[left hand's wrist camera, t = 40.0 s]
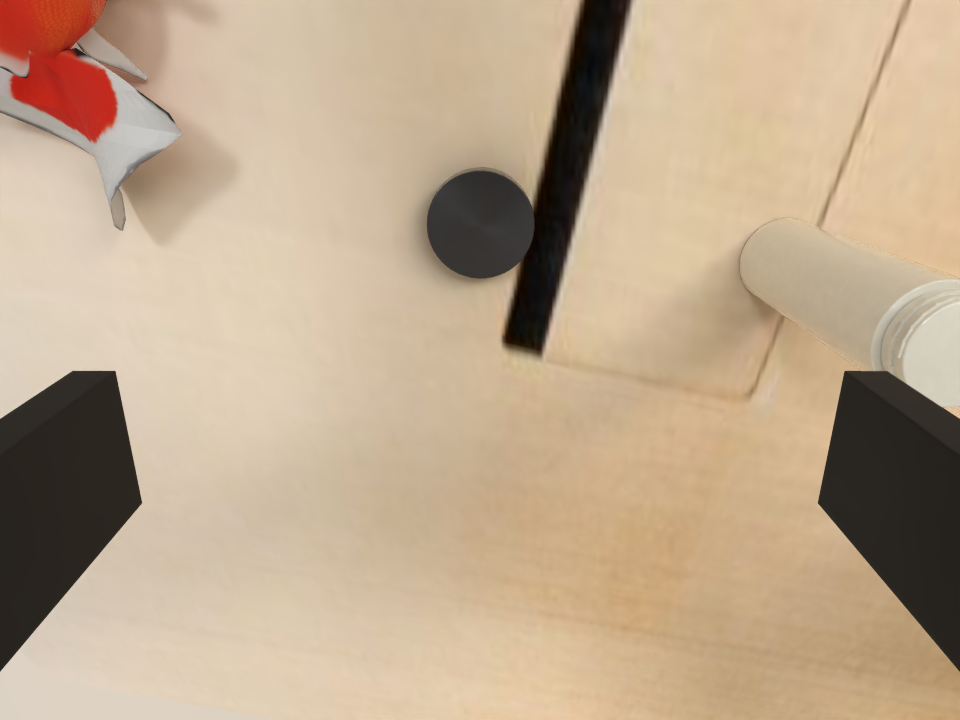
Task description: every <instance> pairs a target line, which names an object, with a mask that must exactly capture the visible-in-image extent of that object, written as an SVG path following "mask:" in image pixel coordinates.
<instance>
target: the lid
mask: <svg viewBox="0 0 960 720" xmlns="http://www.w3.org/2000/svg"><path fill="white" fill-rule="evenodd" d="M427 231H428V237H429V240H430V244H431V246H432V248H433V250H434V252H435V253H436V255H437V256H438V258H439V259H440V260H441V261H442V262H443V263H444V264H445V265H446V266H447V267H448V268H450V269H451V270H453V271H455V272H456V273H458V274H461V275H464V276H467V277H471V278H490V277H495V276H498V275H501V274H503V273H505V272H507V271H509V270H510V269H512V268H513V267H514V266H516V265H517V264H518V263H519V262H520V261H521V260H522V258H523V257H524V256H525V254H526V253H527V251H528V249H529V247H530V245H531V242H532V239H533V235H534V214H533V210H532V207H531V204H530V202H529V199H528V197H527V196H526V194H525V192H524V190H523V189H522V188H521V186H520V185H519V184H518V183H517V182H516V181H515V180H514V179H512V178H511V177H510V176H508V175H506V174H505V173H503V172H500V171H498V170H495V169H491V168H471V169H467V170H464V171H461V172H459V173H457V174H455V175H453V176H452V177H450V178H449V179H448V180H447V181H446V182H445V183H444V184H443V185H442V186H441V187H440V188H439V190H438V191H437V193H436V195H435V197H434V199H433V201H432V203H431V205H430V208H429V212H428V217H427Z"/></svg>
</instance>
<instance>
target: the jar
mask: <svg viewBox="0 0 960 720" xmlns="http://www.w3.org/2000/svg"><path fill="white" fill-rule="evenodd" d="M739 269H740V275H741V279H742V281H743V283H744V285H745V286H746V288H747V289H748V290H749V291H750V292H751V293H752V294H753V295H755V296H756V297H758V298H759V299H760V300H762V301H763V302H765V303H766V304H767V305H769V306H770V307H772V308H773V309H775V310H776V311H777V312H779V313H780V314H782V315H783V316H784V317H786V318H787V319H789V320H790V321H792V322H793V323H794V324H796V325H797V326H799V327H800V328H801V329H803V330H804V331H806V332H807V333H809V334H810V335H811V336H813V337H814V338H816V339H817V340H818V341H820V342H821V343H823V344H824V345H826V346H827V347H828V348H830V349H831V350H833V351H834V352H835V353H837V354H838V355H840V356H841V357H843V358H844V359H845V360H847V361H848V362H850V363H851V364H852V365H854V366H855V367H857V368H858V369H860V370H861V371H888V372H889V373H891V374H892V375H894V376H896V377H897V378H899V379H900V380H902V381H903V382H905V383H906V384H908V385H909V386H911V387H912V388H914V389H915V390H917V391H918V392H920V393H921V394H923V395H924V396H926V397H927V398H929V399H930V400H932V401H933V402H935V403H936V404H938V405H939V406H941V407H943V408H952V407H960V278H958V277H955V276H952V275H950V274H947V273H944V272H942V271H939V270H936V269H933V268H931V267H928V266H925V265H923V264H920V263H917V262H914V261H912V260H909V259H906V258H904V257H901V256H898V255H895V254H893V253H890V252H887V251H885V250H882V249H879V248H876V247H874V246H871V245H868V244H865V243H863V242H860V241H857V240H855V239H852V238H849V237H846V236H844V235H841V234H838V233H836V232H833V231H830V230H827V229H825V228H822V227H819V226H817V225H814V224H811V223H808V222H806V221H803V220H800V219H795V218H783V219H778V220H774V221H772V222H769V223H767V224H765V225H764V226H762V227H761V228H759V229H758V230H757V231H756V232H754V234H753V235H752V236H751V237H750V238H749V240H748V241H747V242H746V244H745V246H744V248H743V251H742V253H741V257H740V268H739Z"/></svg>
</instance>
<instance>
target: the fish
mask: <svg viewBox="0 0 960 720" xmlns="http://www.w3.org/2000/svg"><path fill="white" fill-rule="evenodd" d="M106 1H107V0H0V113H3V114H5V115H8V116H11V117H13V118H16V119H18V120H21V121H23V122H26V123H28V124H31V125H33V126H36V127H38V128H40V129H42V130H45V131H47V132H49V133H51V134H54V135H56V136H58V137H60V138H62V139H65V140H67V141H69V142H71V143H73V144H75V145H76V146H78V147H80V148H81V149H83V150H85V151H86V152H88V153H90V154H91V155H93V156H94V157H95V158H96V161H97V163H98V167H99V170H100V173H101V176H102V180H103V183H104V188H105V192H106V195H107V198H108V202H109V205H110V209H111V213H112V218H113V222H114V226H115V227H117V228H118V229H119V230H122V231H123V228H124V224H125V220H126V218H125V209H124V203H123V197H122V193H121V191H120V189H119V187H120V185H121V183H122V182H123V181H124V180H125V179H126V178H127V177H128V176H129V175H130V174H131V173H132V172H133V171H134V170H135V169H136V168H137V167H138V166H139V165H140V164H142V163H143V162H145V161H147V160H148V159H150V158H151V157H153V156H154V155H156V154H157V153H159V152H161V151H162V150H163V149H165V148H166V147H167V146H168V145H170V144H171V143H172V142H174V141H175V140H176V139H177V138H179V137H180V136H181V135H182V132H181V131H180V129H179V128H178V126H177V125H176V123H175V122H174V120H173V119H172V117H171V116H170V114H169V113H168V112H166V111H165V110H164V109H162V108H161V107H159V106H158V105H157V104H155V103H154V102H153V101H151V100H150V99H149V98H147V97H146V96H144V95H143V94H142V93H140V92H139V91H138V90H136V89H135V88H134V87H132V86H131V85H130V84H129V83H127V82H126V81H125V80H123V79H122V78H121V77H119V76H118V75H116V74H115V73H113V72H112V71H110V70H109V69H107V68H106V67H104V66H103V65H101V64H100V63H98V62H97V61H95V60H98V61H100V62H102V63H105V64H108V65H111V66H113V67H116V68H118V69H121V70H123V71H125V72H128V73H130V74H132V75H134V76H137V77H139V78H141V79H143V80H147V76H145V75H144V74H143V73H142V72H141V71H140V70H139V69H138V68H137V67H136V66H135V65H134V64H133V63H132V62H131V61H130V60H129V59H128V58H127V57H126V56H125V55H124V54H122V53H121V52H120V51H119V50H118V49H116V48H115V47H114V46H112V45H111V44H110V43H108V42H107V41H106V40H105V39H103V38H102V37H101V36H100V35H99V34H98V33H97V32H96V31H95V30H94V29H93V26H94V25H95V23H96V22H97V21H98V19H99V18H100V16H101V14H102V12H103V10H104V7H105V4H106ZM76 42H77V44H78V45H79V47H80V48H81V49H82V50H83V52H85V53H86V54H87V55H88V56H87V55H86V54H84V53H83V52H81V51H80V50H78V49H77V48H74V49H71V48H72V46H73V45H74V44H75V43H76ZM89 56H90V57H89ZM92 58H93V59H92ZM94 59H95V60H94Z"/></svg>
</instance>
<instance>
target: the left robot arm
mask: <svg viewBox="0 0 960 720" xmlns="http://www.w3.org/2000/svg"><path fill="white" fill-rule="evenodd" d="M141 504H142V500H141V495H140V490H139V485H138V480H137V475H136V471H135V466H134V461H133V456H132V451H131V446H130V441H129V436H128V431H127V426H126V421H125V416H124V411H123V406H122V401H121V396H120V392H119V387H118V382H117V377H116V372H115V371H72V372H71V373H69V374H68V375H66V376H64V377H63V378H61V379H60V380H58V381H57V382H55V383H54V384H52V385H51V386H49V387H48V388H46V389H45V390H43V391H42V392H40V393H39V394H37V395H36V396H34V397H33V398H31V399H30V400H28V401H27V402H25V403H24V404H22V405H21V406H19V407H18V408H16V409H15V410H13V411H12V412H10V413H9V414H7V415H6V416H4V417H2V418H1V419H0V671H1V670H2V669H3V668H4V666H5V665H6V664H7V663H8V662H9V660H10V659H11V658H12V657H13V656H14V654H15V653H16V652H17V651H18V650H19V649H20V647H21V646H22V645H23V644H24V643H25V641H26V640H27V639H28V638H29V637H30V636H31V634H32V633H33V632H34V631H35V630H36V628H37V627H38V626H39V625H40V624H41V622H42V621H43V620H44V619H45V618H46V617H47V615H48V614H49V613H50V612H51V611H52V609H53V608H54V607H55V606H56V605H57V603H58V602H59V601H60V600H61V599H62V598H63V596H64V595H65V594H66V593H67V592H68V590H69V589H70V588H71V587H72V586H73V584H74V583H75V582H76V581H77V580H78V579H79V577H80V576H81V575H82V574H83V573H84V571H85V570H86V569H87V568H88V567H89V565H90V564H91V563H92V562H93V561H94V560H95V558H96V557H97V556H98V555H99V554H100V552H101V551H102V550H103V549H104V548H105V546H106V545H107V544H108V543H109V542H110V541H111V539H112V538H113V537H114V536H115V535H116V533H117V532H118V531H119V530H120V529H121V527H122V526H123V525H124V524H125V523H126V522H127V520H128V519H129V518H130V517H131V516H132V514H133V513H134V512H135V511H136V510H137V508H138V507H139V506H140V505H141ZM818 504H819V505H820V506H821V507H822V508H823V510H824V511H825V512H826V513H827V514H828V516H829V517H830V518H831V519H832V520H833V522H834V523H835V524H836V525H837V526H838V527H839V529H840V530H841V531H842V532H843V533H844V535H845V536H846V537H847V538H848V539H849V541H850V542H851V543H852V544H853V545H854V546H855V548H856V549H857V550H858V551H859V552H860V554H861V555H862V556H863V557H864V558H865V560H866V561H867V562H868V563H869V564H870V565H871V567H872V568H873V569H874V570H875V571H876V573H877V574H878V575H879V576H880V577H881V579H882V580H883V581H884V582H885V583H886V584H887V586H888V587H889V588H890V589H891V590H892V592H893V593H894V594H895V595H896V596H897V598H898V599H899V600H900V601H901V602H902V603H903V605H904V606H905V607H906V608H907V609H908V611H909V612H910V613H911V614H912V615H913V617H914V618H915V619H916V620H917V621H918V622H919V624H920V625H921V626H922V627H923V628H924V630H925V631H926V632H927V633H928V634H929V636H930V637H931V638H932V639H933V640H934V641H935V643H936V644H937V645H938V646H939V647H940V649H941V650H942V651H943V652H944V653H945V655H946V656H947V657H948V658H949V659H950V660H951V662H952V663H953V664H954V665H955V666H956V668H957V669H958V670H959V671H960V419H959V418H958V417H956V416H954V415H953V414H951V413H950V412H948V411H947V410H945V409H944V408H942V407H941V406H939V405H938V404H936V403H935V402H933V401H932V400H930V399H929V398H927V397H926V396H924V395H923V394H921V393H920V392H918V391H917V390H915V389H914V388H912V387H911V386H909V385H908V384H906V383H905V382H903V381H902V380H900V379H899V378H897V377H896V376H894V375H892V374H891V373H889V372H888V371H845V372H844V377H843V382H842V387H841V392H840V396H839V401H838V406H837V411H836V416H835V421H834V426H833V431H832V436H831V441H830V446H829V451H828V456H827V461H826V466H825V470H824V475H823V480H822V485H821V490H820V495H819V500H818Z"/></svg>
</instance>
